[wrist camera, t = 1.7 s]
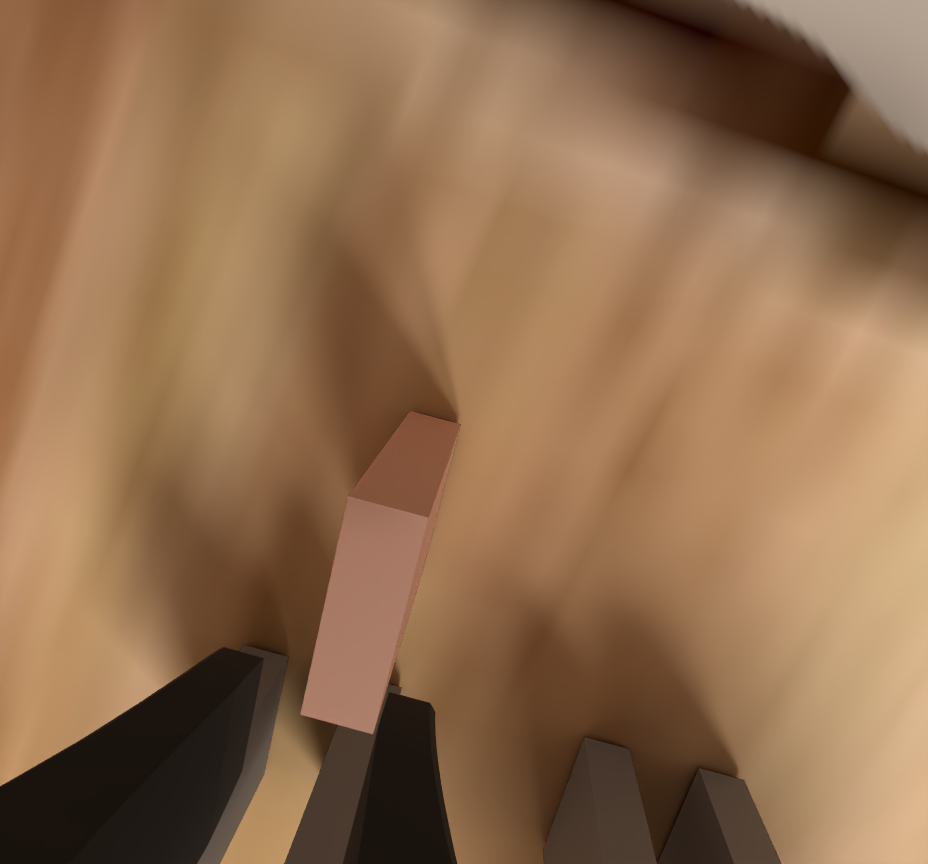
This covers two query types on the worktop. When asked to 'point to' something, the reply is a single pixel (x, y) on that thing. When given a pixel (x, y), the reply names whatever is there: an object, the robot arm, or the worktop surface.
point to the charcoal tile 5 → (718, 825)
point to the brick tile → (378, 572)
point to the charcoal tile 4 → (600, 812)
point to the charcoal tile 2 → (335, 797)
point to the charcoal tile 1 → (251, 752)
